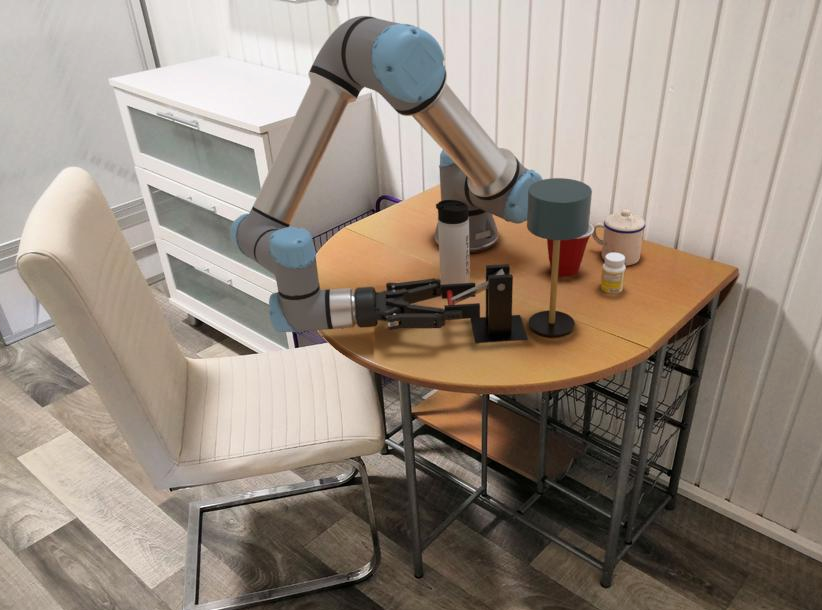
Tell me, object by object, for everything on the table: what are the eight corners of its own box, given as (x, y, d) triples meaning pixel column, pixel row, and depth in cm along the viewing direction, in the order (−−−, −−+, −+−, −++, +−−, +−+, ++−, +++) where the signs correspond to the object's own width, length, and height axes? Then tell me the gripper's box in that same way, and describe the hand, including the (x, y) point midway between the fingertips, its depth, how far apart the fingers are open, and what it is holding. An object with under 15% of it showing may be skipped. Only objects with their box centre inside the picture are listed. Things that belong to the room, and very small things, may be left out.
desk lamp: (519, 317, 149) (523, 179, 133) (572, 313, 150) (583, 176, 133) (528, 347, 140) (534, 204, 124) (585, 343, 141) (598, 200, 124)
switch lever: (452, 317, 137) (446, 308, 136) (449, 298, 143) (443, 289, 142) (511, 290, 135) (505, 280, 134) (505, 272, 141) (500, 262, 139)
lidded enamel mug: (646, 254, 171) (652, 207, 164) (632, 270, 164) (638, 222, 158) (597, 243, 176) (602, 196, 169) (582, 258, 170) (586, 211, 163)
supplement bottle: (609, 284, 160) (613, 249, 155) (627, 292, 157) (631, 256, 152) (595, 292, 157) (599, 256, 152) (613, 300, 154) (617, 264, 149)
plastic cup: (598, 282, 161) (603, 231, 154) (551, 289, 158) (555, 238, 151) (577, 259, 169) (582, 211, 162) (533, 266, 167) (535, 217, 160)
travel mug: (434, 286, 160) (431, 199, 148) (462, 280, 162) (461, 194, 150) (445, 300, 155) (442, 211, 144) (474, 293, 157) (473, 205, 146)
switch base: (475, 348, 140) (474, 284, 132) (470, 322, 148) (469, 261, 140) (527, 344, 141) (529, 281, 133) (519, 319, 148) (521, 258, 140)
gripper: (358, 298, 148) (472, 290, 150) (356, 354, 132) (483, 345, 134) (354, 264, 144) (471, 257, 146) (351, 318, 128) (483, 310, 129)
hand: (477, 299), depth 140 cm, fingers open, 7 cm apart
